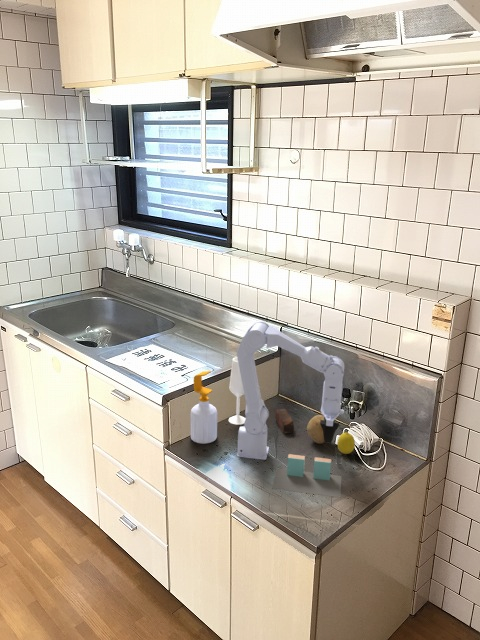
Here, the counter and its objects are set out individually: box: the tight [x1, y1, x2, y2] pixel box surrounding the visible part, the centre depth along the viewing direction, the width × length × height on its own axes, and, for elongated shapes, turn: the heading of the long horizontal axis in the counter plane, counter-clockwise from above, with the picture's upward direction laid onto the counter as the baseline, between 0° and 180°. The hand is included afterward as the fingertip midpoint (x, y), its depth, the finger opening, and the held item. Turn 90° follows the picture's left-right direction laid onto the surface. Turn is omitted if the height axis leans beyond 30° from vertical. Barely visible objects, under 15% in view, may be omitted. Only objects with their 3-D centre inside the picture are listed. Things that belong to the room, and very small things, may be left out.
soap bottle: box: [190, 370, 218, 445], centre depth 188 cm, size 9×9×25 cm
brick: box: [274, 408, 295, 435], centre depth 200 cm, size 11×4×5 cm, turn 13°
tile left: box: [286, 453, 306, 477], centre depth 170 cm, size 5×2×6 cm, turn 79°
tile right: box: [312, 456, 332, 480], centre depth 169 cm, size 5×2×6 cm, turn 79°
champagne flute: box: [228, 356, 246, 425], centre depth 201 cm, size 7×7×24 cm
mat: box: [272, 467, 342, 498], centre depth 167 cm, size 20×11×1 cm, turn 79°
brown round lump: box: [306, 414, 325, 444], centre depth 190 cm, size 9×9×10 cm
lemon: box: [337, 432, 356, 455], centre depth 183 cm, size 6×6×8 cm
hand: (328, 435), depth 175 cm, fingers open, 7 cm apart
